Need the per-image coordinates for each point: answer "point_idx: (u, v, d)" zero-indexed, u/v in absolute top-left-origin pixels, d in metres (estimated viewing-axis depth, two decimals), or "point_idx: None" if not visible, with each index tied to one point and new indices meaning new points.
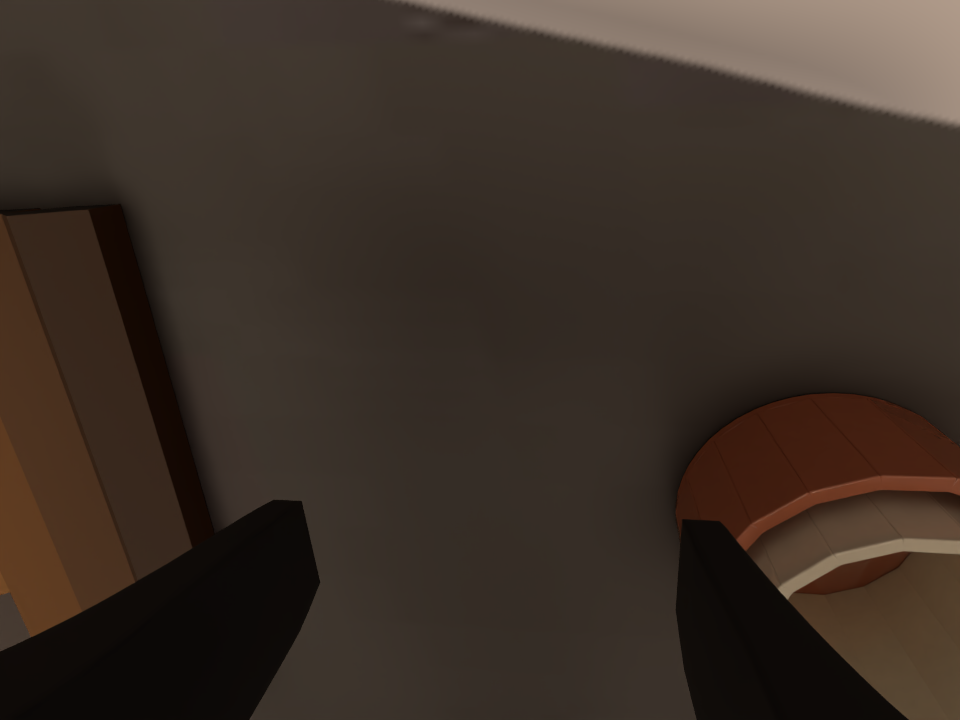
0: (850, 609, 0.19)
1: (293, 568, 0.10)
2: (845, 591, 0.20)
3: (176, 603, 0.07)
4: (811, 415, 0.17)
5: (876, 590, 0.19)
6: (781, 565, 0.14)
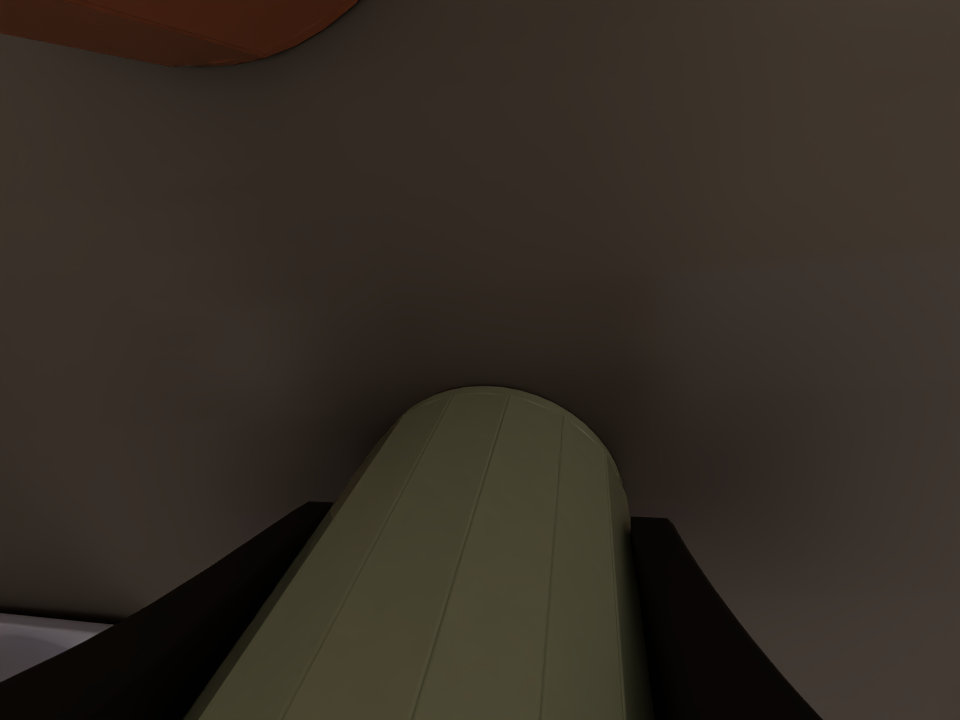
0: None
1: None
2: None
3: (223, 607, 0.07)
4: None
5: None
6: None
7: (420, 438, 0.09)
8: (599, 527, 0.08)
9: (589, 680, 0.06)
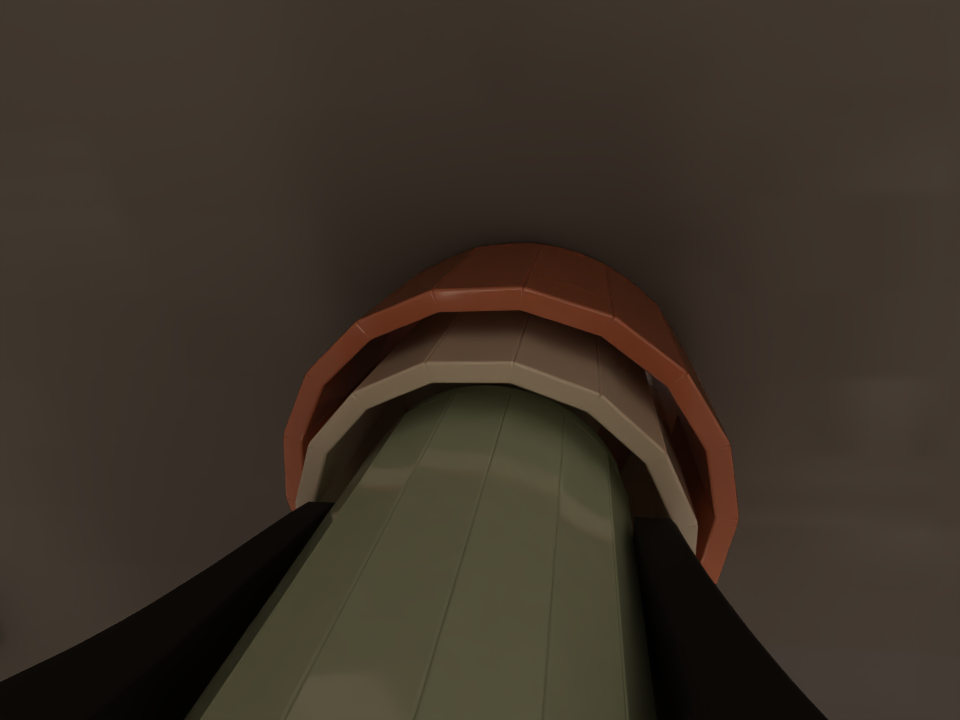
0: None
1: None
2: None
3: (223, 607, 0.07)
4: (456, 259, 0.13)
5: None
6: None
7: (421, 437, 0.09)
8: (601, 526, 0.08)
9: (591, 679, 0.05)
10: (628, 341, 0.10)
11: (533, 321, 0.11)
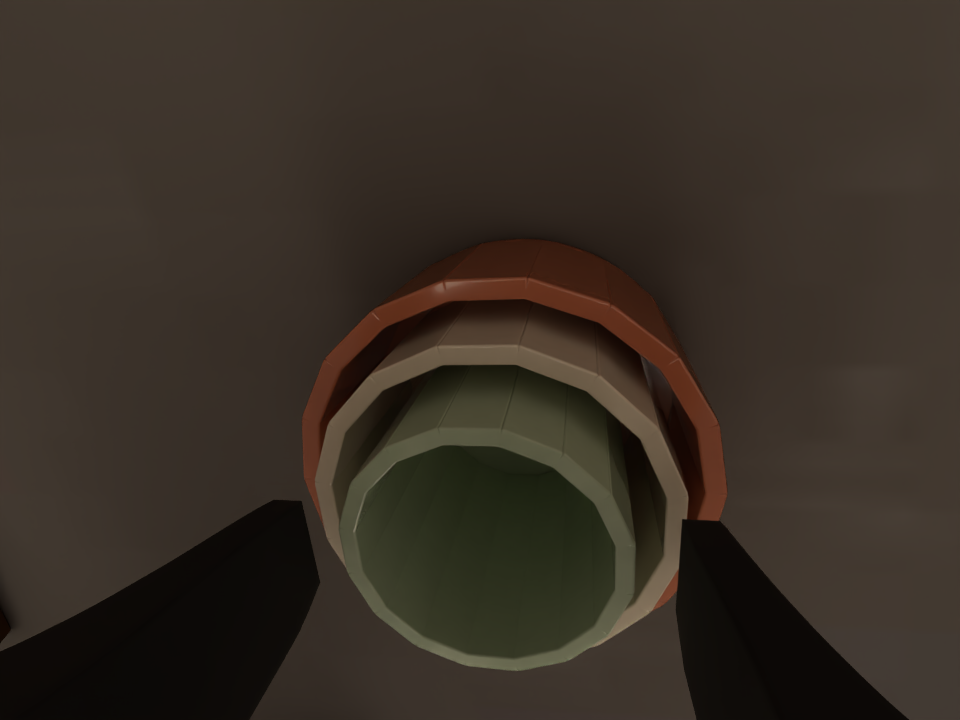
0: None
1: (293, 568, 0.10)
2: None
3: (176, 603, 0.07)
4: (463, 254, 0.14)
5: None
6: None
7: None
8: None
9: (589, 433, 0.10)
10: (624, 327, 0.10)
11: (536, 310, 0.12)
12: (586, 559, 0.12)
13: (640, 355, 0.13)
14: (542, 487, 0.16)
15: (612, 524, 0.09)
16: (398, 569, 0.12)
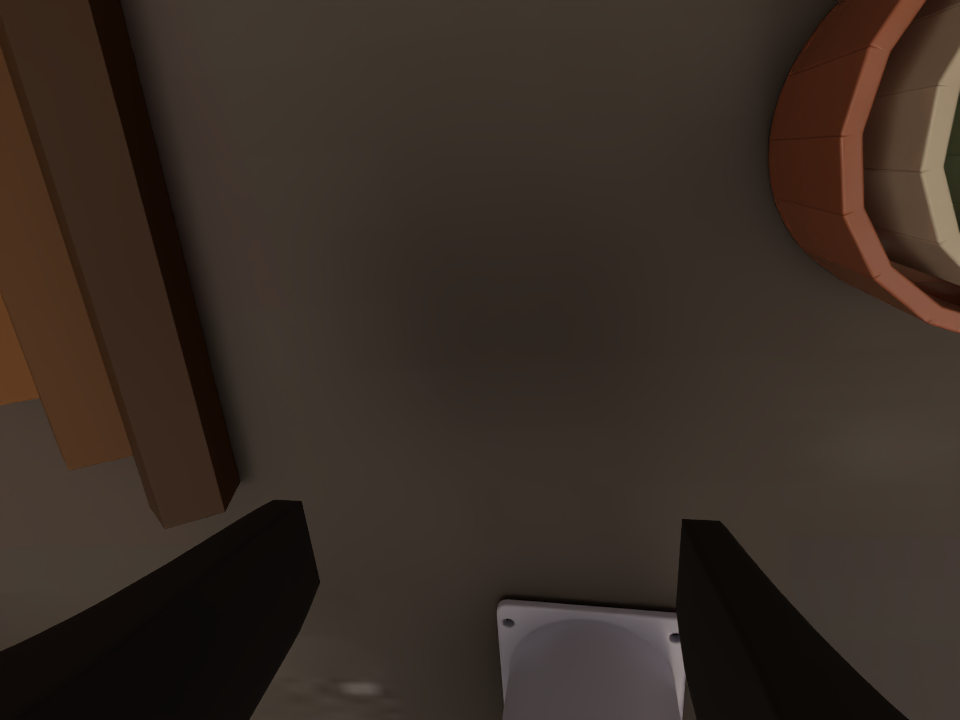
0: None
1: (293, 568, 0.10)
2: None
3: (176, 602, 0.07)
4: None
5: None
6: None
7: None
8: None
9: None
10: None
11: None
12: None
13: None
14: None
15: None
16: None
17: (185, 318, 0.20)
